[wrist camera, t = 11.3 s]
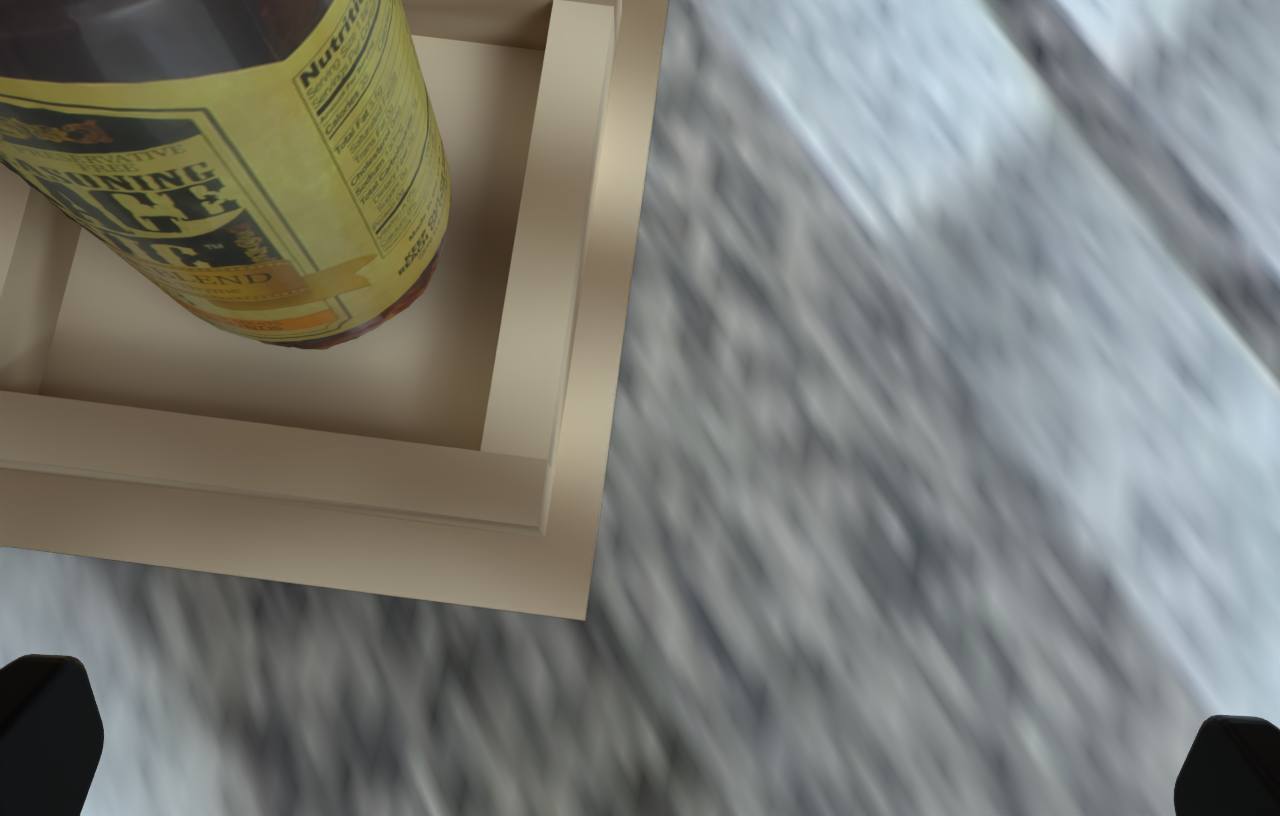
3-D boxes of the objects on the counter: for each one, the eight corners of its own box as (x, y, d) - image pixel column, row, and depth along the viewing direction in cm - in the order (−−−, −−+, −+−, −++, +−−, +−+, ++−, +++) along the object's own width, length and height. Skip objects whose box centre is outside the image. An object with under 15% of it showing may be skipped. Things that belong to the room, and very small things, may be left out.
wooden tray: (585, 621, 22) (580, 616, 19) (-96, 533, 22) (-186, 517, 19) (682, -103, 25) (688, -184, 23) (102, -172, 26) (47, -259, 23)
